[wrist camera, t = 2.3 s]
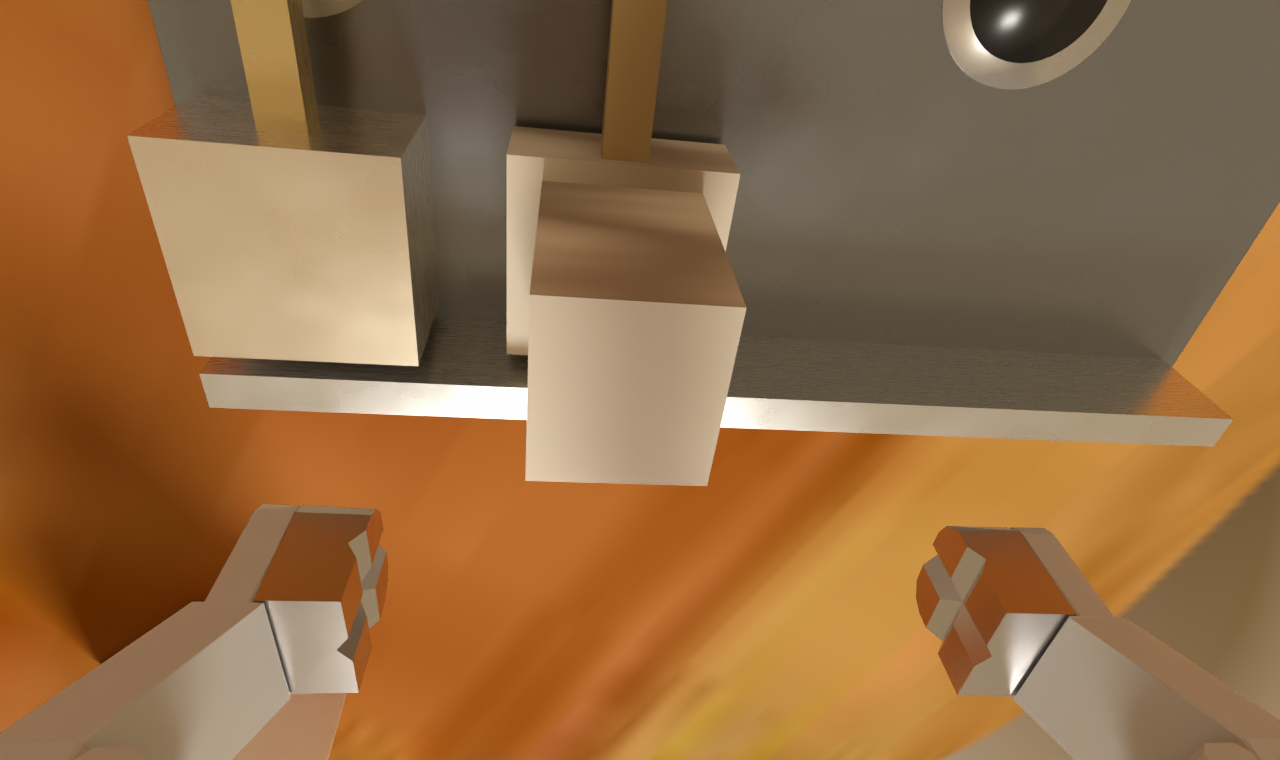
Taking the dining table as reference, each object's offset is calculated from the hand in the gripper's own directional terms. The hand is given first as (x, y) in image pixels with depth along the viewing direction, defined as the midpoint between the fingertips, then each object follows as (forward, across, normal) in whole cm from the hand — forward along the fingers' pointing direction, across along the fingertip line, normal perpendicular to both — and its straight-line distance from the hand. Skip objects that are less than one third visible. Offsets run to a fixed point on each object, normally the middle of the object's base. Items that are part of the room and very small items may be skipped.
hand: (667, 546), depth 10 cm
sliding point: (+10, +1, -3) cm, 10 cm away
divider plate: (+11, -3, -4) cm, 12 cm away
